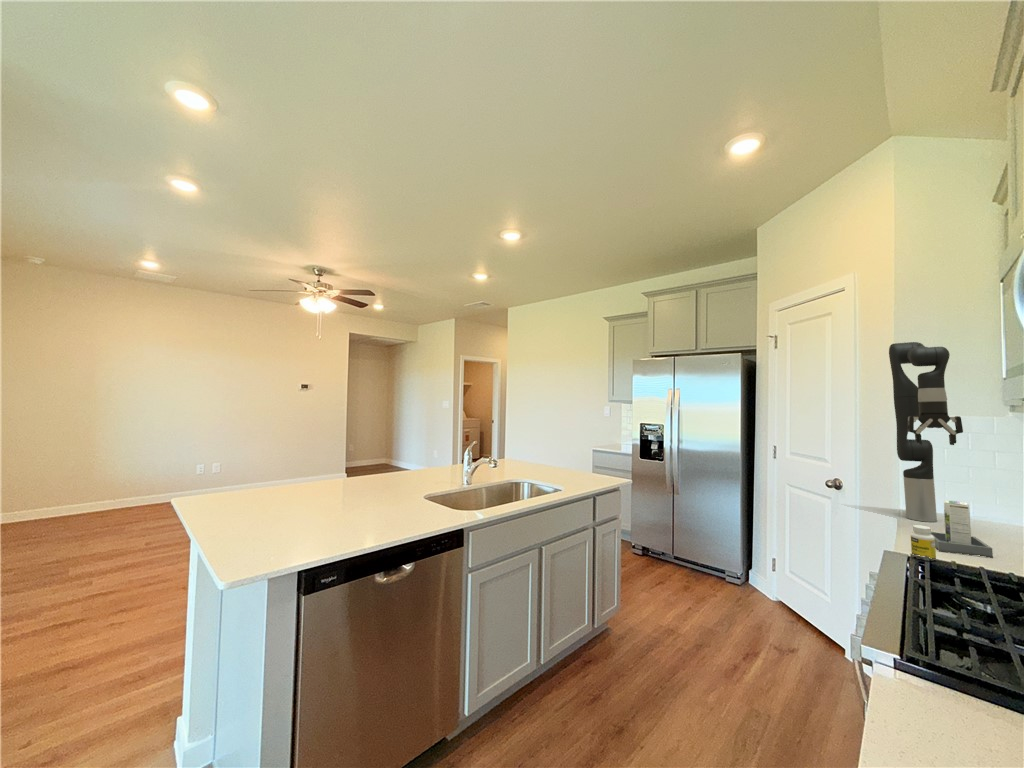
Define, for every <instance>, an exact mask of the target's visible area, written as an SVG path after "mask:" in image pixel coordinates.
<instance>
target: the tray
mask: <svg viewBox="0 0 1024 768" xmlns="http://www.w3.org/2000/svg"><path fill="white" fill-rule="evenodd" d="M930 534H931V535H933V536H934V538H935V550H937V552H940V551H942V553H948V552H950V553H949V554H956V553H962V554H961V555H964V554H969V555H968V556H972V555H980V556H986V557H985V558H988V557H990V558H991V559H993V558H994V556H993V548H992V547H991V546H989V545H988V544H987V543H985V542H984V541H982V540H980V539H979V538H978V537H976V536H972V535H971V544H972V545H965V544H957V543H948V542H946V536H945V532H936V531H935V532H934V531H931V533H930ZM980 556H979V557H980Z"/></svg>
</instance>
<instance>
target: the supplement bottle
mask: <svg viewBox="0 0 1024 768" xmlns="http://www.w3.org/2000/svg"><path fill="white" fill-rule="evenodd" d="M912 530H913V531H912V532H910V547H911V551H910V552H911V555H912V554H914V555H920V556H927V557H930V558H932V559H936V560H937V556H936V555H937V554H936V550H937V549H936V548H935V538H934V536H933V535H931V534H930V533H931V532H932V528H931V527H929V526H927V525H921V524H917V525H916V524H913V525H912Z"/></svg>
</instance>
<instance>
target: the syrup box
mask: <svg viewBox="0 0 1024 768" xmlns="http://www.w3.org/2000/svg"><path fill="white" fill-rule="evenodd" d="M943 509H944V510H943V513H944V516H943V517H944V531H945V532H944V533H945V536H946V542H948V543H957V544H965V545H972V544H971V536H972V529H971V515H970V514H971V513H970V505H969V503H967V502H965V501H964V502H962V501H957V500H948V499H947V500H945V499H944V500H943Z"/></svg>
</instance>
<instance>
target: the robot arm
mask: <svg viewBox="0 0 1024 768" xmlns="http://www.w3.org/2000/svg"><path fill="white" fill-rule="evenodd" d="M888 357H889V363H890V369H891V377H892V388H893V404H894V412H895V413H894V414H895V422H896V452H897V453H896V454H897V457H898V459H899V460H900V461H902V462H918V463H919V462H920V464H919V465H917V466H914V467H911V468H907V469H904V470H903V471H902V474H903V488H904V502H905V517H906V519H909V520H913V521H918V522H929V523H931V522H933V523H934V522H935V523H936V522H938V520H937V504H936V502H937V501H936V492H935V490H936V489H935V487H936V486H935V476H934V475H935V474H934V449H933V444H932V442H931V441H930V440H928V439H922V434H921V433H922V432H923V431H924V430H925V429H926V428H928V429H933V428H936V429H943V430H945V431H947V433H949V434H948V440H949V441H948V442H949V445H950V446H955V444H956V443H957V435H958V434H962V433H963V432H964V429H963V428H964V427H963V422H962V417H961V416H959V415H956V416H949V411H948V410H949V408H948V397H947V391H946V385H945V373H946V369H947V366H948V364H949V363H948V362H949V359H950V351H949V349H947V347H944V346H930V347H929V346H925V345H924V344H923V343H921V342H918V341H913V342H912V341H911V342H909V341H908V342H898V343H897V342H896V343H892V344H890V346H889V347H888ZM905 364H906V365H907V364H910V365H912V366H913V367H914V366H915V367H934V366H935V368H934V369H933V370H931V371H927V372H921V373H919V374H918V375H917V385H916V384H915V383H914V382H913V381H912V380H911V379H910V378H909V377H908V376H907V374H906V373H905V372H904V370H903V367H902V365H905ZM917 421H919V422H920V424H919V426H918V427H917V428H916V429H915V428H914V424H915V423H916V422H917ZM950 421H951V422H952V423H954V426H955V429H953V428H952V427H951V426H950V425H949V424H948V423H949V422H950ZM909 433H913V434H914V438H915V439H913V438H912V439H908V434H909Z"/></svg>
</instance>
